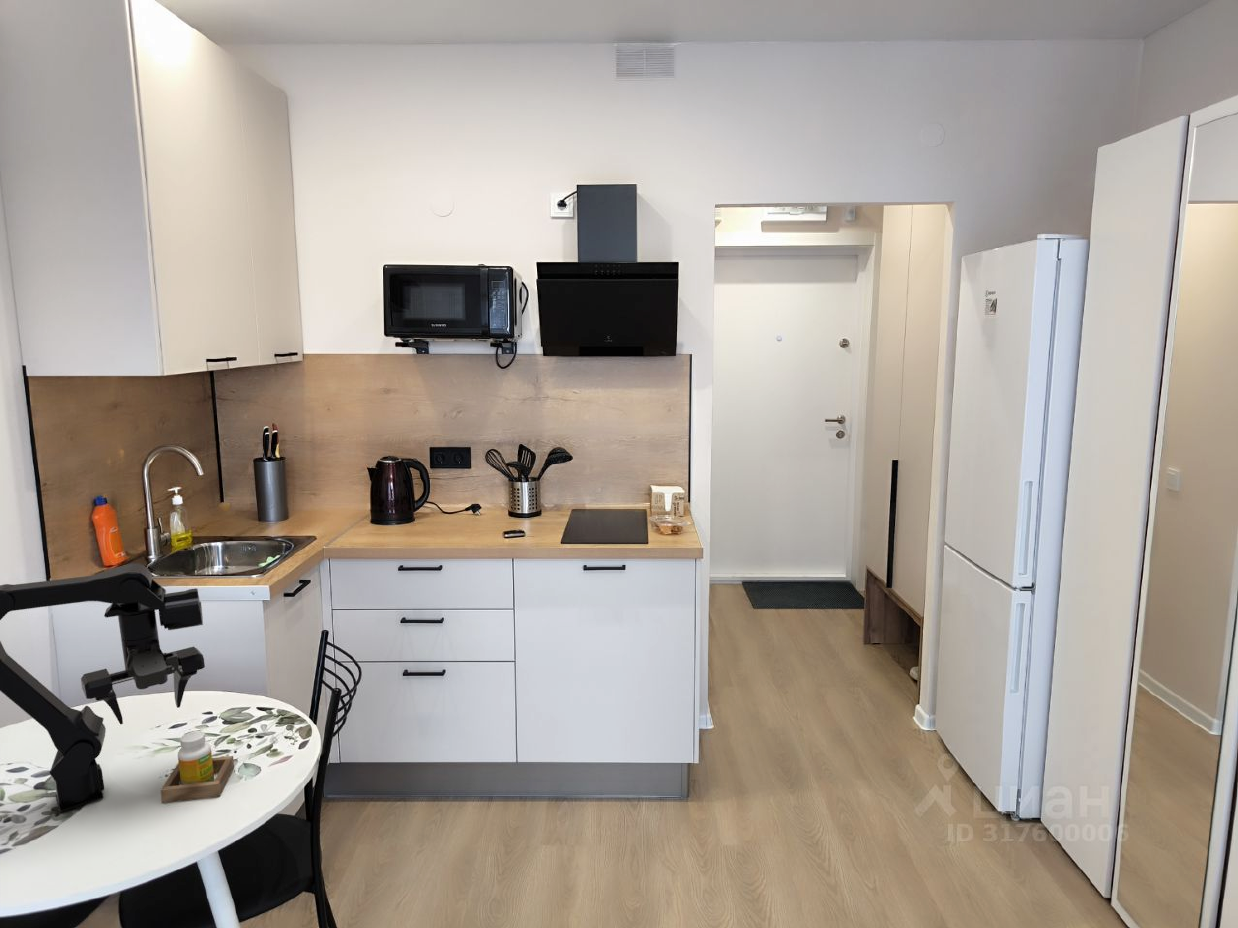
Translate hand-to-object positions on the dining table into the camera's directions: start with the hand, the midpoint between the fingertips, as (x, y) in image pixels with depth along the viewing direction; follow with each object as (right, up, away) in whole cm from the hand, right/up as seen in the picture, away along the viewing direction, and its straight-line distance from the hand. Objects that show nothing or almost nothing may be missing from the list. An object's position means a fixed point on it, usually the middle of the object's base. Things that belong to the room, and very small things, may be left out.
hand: (150, 714), depth 147 cm
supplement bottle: (+9, -13, +1) cm, 16 cm away
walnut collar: (+9, -13, +1) cm, 16 cm away
